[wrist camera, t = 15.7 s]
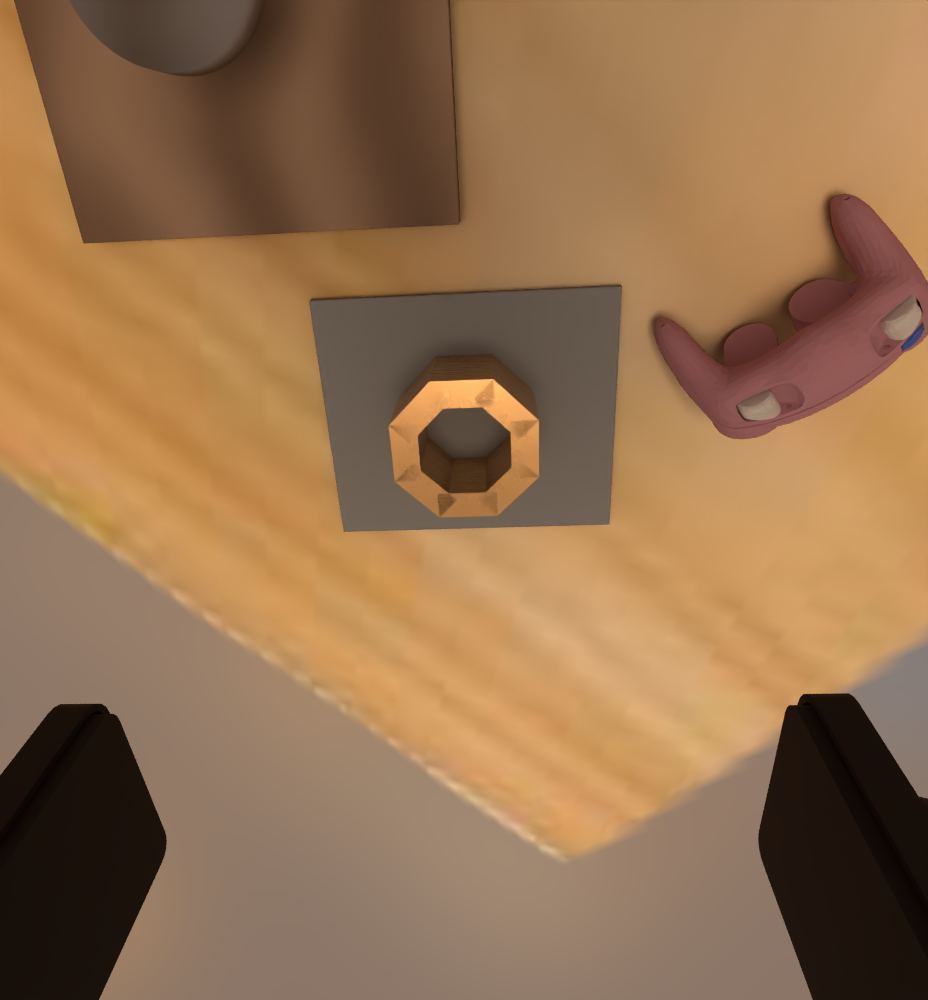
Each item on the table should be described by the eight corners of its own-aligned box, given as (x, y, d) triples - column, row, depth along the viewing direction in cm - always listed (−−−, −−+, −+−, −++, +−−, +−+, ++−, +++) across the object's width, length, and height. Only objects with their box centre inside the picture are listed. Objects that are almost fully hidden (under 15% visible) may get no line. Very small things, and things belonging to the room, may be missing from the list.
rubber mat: (620, 285, 30) (621, 286, 30) (608, 520, 36) (609, 524, 35) (311, 299, 31) (309, 301, 31) (345, 527, 37) (343, 531, 36)
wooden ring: (533, 352, 32) (538, 377, 28) (533, 477, 34) (539, 514, 31) (395, 357, 32) (384, 383, 28) (407, 481, 35) (398, 518, 31)
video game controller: (672, 378, 34) (743, 477, 29) (637, 321, 31) (711, 422, 26) (864, 251, 31) (976, 341, 26) (848, 174, 28) (973, 260, 23)
